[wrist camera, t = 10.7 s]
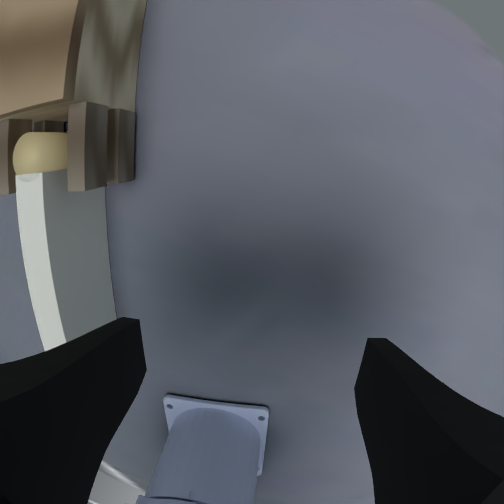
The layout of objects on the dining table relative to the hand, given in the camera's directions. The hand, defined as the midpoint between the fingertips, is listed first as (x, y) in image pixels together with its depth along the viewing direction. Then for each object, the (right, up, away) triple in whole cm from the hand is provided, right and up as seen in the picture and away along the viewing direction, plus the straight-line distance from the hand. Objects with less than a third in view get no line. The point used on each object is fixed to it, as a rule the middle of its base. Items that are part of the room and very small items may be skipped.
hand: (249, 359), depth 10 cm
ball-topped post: (-10, +2, +10) cm, 15 cm away
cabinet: (-15, +14, +7) cm, 21 cm away
